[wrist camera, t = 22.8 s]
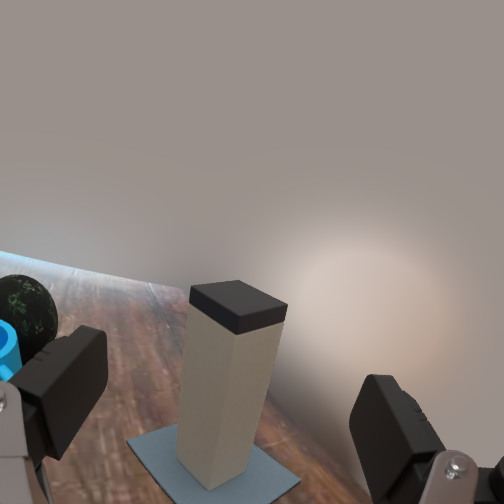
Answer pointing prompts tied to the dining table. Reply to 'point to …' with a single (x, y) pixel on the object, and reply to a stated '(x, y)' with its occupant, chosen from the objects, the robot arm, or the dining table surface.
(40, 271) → the dining table surface
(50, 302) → the decorative stone
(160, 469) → the mat
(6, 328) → the mug
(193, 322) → the black-capped tall post
